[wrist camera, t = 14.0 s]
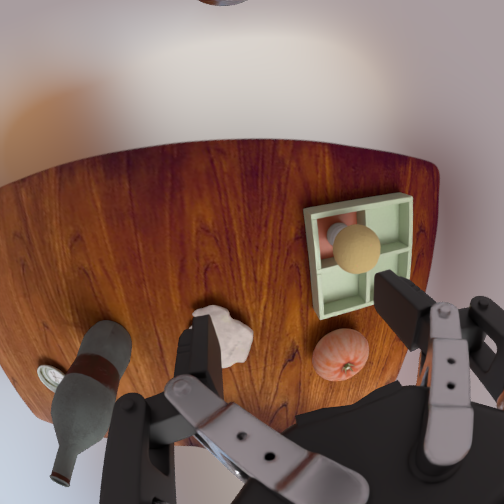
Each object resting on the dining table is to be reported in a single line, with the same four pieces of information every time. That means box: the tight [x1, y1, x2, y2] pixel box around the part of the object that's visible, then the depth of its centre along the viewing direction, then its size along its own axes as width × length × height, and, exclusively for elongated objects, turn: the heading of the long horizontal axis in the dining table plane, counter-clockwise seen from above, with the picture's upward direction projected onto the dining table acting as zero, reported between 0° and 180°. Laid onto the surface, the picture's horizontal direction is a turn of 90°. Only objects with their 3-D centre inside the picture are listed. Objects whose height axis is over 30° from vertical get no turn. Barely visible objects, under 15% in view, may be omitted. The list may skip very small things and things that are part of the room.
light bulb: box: [327, 222, 381, 274], centre depth 36 cm, size 6×6×10 cm
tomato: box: [312, 328, 369, 381], centre depth 46 cm, size 11×11×8 cm
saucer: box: [37, 365, 65, 392], centre depth 45 cm, size 10×10×2 cm
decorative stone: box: [189, 305, 253, 368], centre depth 44 cm, size 11×4×15 cm
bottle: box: [50, 320, 132, 487], centre depth 30 cm, size 9×9×30 cm
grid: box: [303, 192, 413, 320], centre depth 41 cm, size 17×17×4 cm
